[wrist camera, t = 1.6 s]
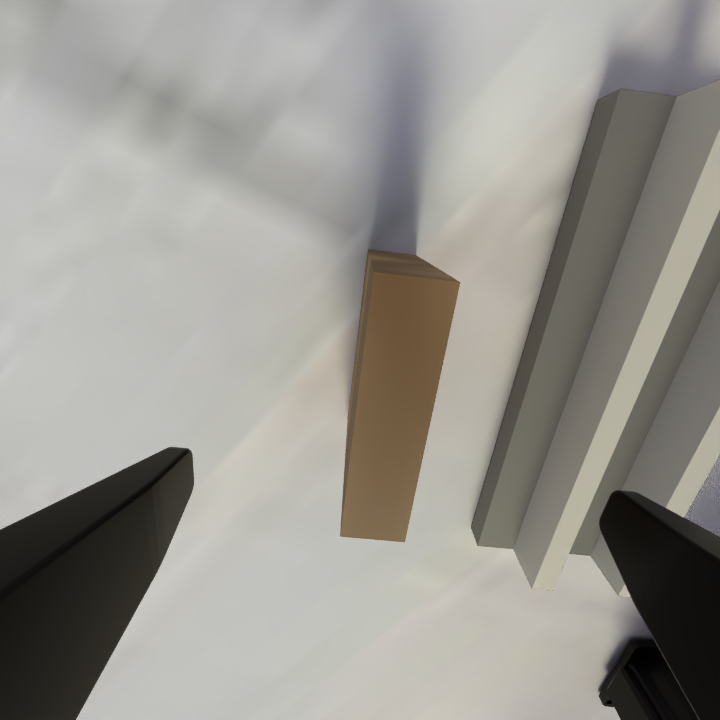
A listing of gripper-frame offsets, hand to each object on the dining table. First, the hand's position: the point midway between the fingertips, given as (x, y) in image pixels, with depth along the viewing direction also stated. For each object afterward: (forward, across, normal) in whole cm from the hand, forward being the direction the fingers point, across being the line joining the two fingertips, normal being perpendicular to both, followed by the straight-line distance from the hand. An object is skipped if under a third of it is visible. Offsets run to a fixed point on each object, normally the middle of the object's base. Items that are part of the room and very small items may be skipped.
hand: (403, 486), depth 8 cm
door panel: (+9, 0, 0) cm, 9 cm away
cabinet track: (+9, -11, 0) cm, 14 cm away
